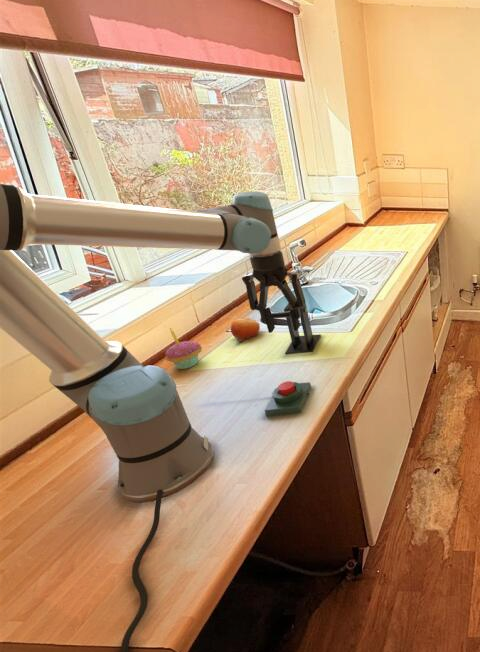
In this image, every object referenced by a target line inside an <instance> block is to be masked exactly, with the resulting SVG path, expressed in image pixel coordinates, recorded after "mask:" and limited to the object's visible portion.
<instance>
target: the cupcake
mask: <svg viewBox="0 0 480 652" xmlns="http://www.w3.org/2000/svg"><path fill="white" fill-rule="evenodd" d="M169 330H170V333H171V335H172V338H173V339H174V341H175V343H174V344H173V345H171V346H169V347H168V348H167V349H166V350H165V352H164V356H165V360H166V361H167V362H170V363H172V364H173V365H175V366H176V368H177V369H179V370H185V369H190V368H192V367H194V366H196V365H197V364H198V358H199V354H200V353H201V352H202V351H203V349H202V348H203V347H202V345H201V344H200V343H198V342H196V341H193V340H184V341H179V339H178V337H177V335H176V333H175V331H174V330H172V328H171V327H170V328H169Z"/></svg>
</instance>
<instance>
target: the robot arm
mask: <svg viewBox="0 0 480 652" xmlns="http://www.w3.org/2000/svg"><path fill="white" fill-rule="evenodd" d="M273 211H274V209H273V207H272V204H271V200H270V198H269V196H268V194H267V193H265V192H262V191H245V192H240V193H236V194H234V195H233V203H231V204H228V205H222V206H216V207H210V208H202V209H194V210H186V209H176V208H165V207H157V206H148V205H137V204H127V203H119V202H109V201H101V200H100V201H99V200H91V199H90V200H89V199H81V198H80V199H79V198H72V197H71V198H70V197H61V196H53V195H50V196H49V195H43V194H41V195H40V194H33V193H28V192H26V191H24V190H23V189H22V188H21V187H19V186H18V185H14V184H13V185H12V184H3V183H0V329H1V330H2V331H3V332H5V333H6V334H7V335H8V336H9V337H11V338H12V339H13V340H15V342H17V343H18V344H19V345H20V346H22V347H23V348H24V349H25V350H27V351H28V352H29V353H30V354H31V355H33V356H34V357H35V358H36V359H37V360H39V361H40V362H41V363H42V364H43V365H45V367H47V368H48V369H49V370H51V371H50V374H49V376H48V382H49V384H51V385H52V386H53V387H55V388H56V389H57V390H58V391H60V392H61V393H62V394H64V395H65V396H66V397H67V398H69V400H71V402H72V403H74V404H75V405H77V406H78V407H79V408H80V409H82V410H83V411H84V412H85V413H86V415H87V416H89V418H90V419H91V420H92V421H93V422H94V423H95V424H96V425H97V426H98V427H99V428H100V429H101V430H102V432H103V434H104V435H105V436H106V438H107V440H108V442H109V444H110V446H111V447H112V450H113V452H114V453H115V455H116V457H117V459H118V477H117V479H118V480H117V489H118V490H119V492H120V494H121V496H122V497H123V498H124V499H125V500H126V501H128V502H131V503H137V504H139V503H141V504H142V503H143V504H144V503H150V502H154V501H155V502H154V503H155V504H154V511H153V522H152V525H151V529H150V531H149V533H148V535H147V537H146V539H145V540H144V543H143V544H142V546H141V548H140V550H138V553H137V554H136V557H135V559H134V561H133V564H132V565H133V566H132V570H131V577H132V582H133V585H134V587H135V588H136V591H137V592H138V596H139V598H140V599H139V600H140V603H139V608H138V610H137V614H135V616H134V618H133V620H132V621H131V623H130V624H129V626H128V628H127V629H126V631H125V633H124V636H123V637H122V641H121V646H120V652H129V649H130V640H131V639H132V635H133V633H134V631H135V629H136V628H137V627H138V624H139V623H140V622H141V620H142V618H143V616H144V615H145V613H146V610H147V606H148V591H147V589H146V587H145V585H144V583H143V581H142V579H141V577H140V566H141V563H142V559H143V557H144V555H145V553H146V551H147V549H148V548H149V546H150V544H151V542H152V541H153V539H154V537H155V535H156V532H157V530H158V527H159V523H160V517H161V506H162V500H163V499H165V498H167V497H170V496H172V495H174V494H177V493H178V492H181V491H183V490H184V489H185V488H187V487H189V486H191V485H192V484H193V483H194V482H196V481H197V480H199V478H201V477H202V476H203V475H204V474H205V473H206V472H207V471H208V469H209V468H210V466H211V464H212V462H213V460H214V455H215V453H214V450H213V447H212V444H211V443H210V441H209V437H207V436H206V435H203V436H201V435H200V434H199V433H198V432H197V431H196V430H195V429H194V428H193V427H192V424H191V422H190V419H189V416H188V415H187V412H186V409H185V407H184V405H183V402H182V400H181V397H180V395H179V392H178V390H177V384H176V383H175V381H174V379H173V377H172V376H171V374H170V373H169V372H168V371H167V370H166V369H164V368H162V367H160V366H157V365H150V364H148V365H146V366H144V365H143V364H142V363H141V362H140V361H139V360H138V359H137V357H135V356H134V355H133V354H132V353H131V352H130V351H129V350H128V349H127V348H126V347H125V346H124V345H123V344H122V343H121V342H119V341H116V340H104V339H103V337H102V336H100V335H99V333H98V332H96V330H94V329H93V328H92V327H91V326H90V325H89V324H88V323H87V322H86V321H85V320H84V319H83V318H82V317H81V316H80V315H79V314H78V313H77V312H76V311H75V310H74V309H73V308H72V307H70V305H68V303H66V301H65V300H64V299H63V298H62V297H61V296H59V295H58V293H56V291H54V289H52V287H50V286H49V284H47V283H46V282H45V281H44V280H43V279H42V278H41V277H40V276H39V275H38V274H37V273H36V272H35V271H34V270H33V269H32V268H31V267H30V266H29V265H28V264H27V263H26V262H25V261H24V260H22V258H21V257H20V256H19V255H17V254H16V253H15V252H14V251H22V250H24V249H25V248H27V247H28V246H30V245H46V246H47V245H48V246H49V245H50V246H52V245H53V246H83V247H84V246H85V247H115V248H117V247H118V248H119V247H120V248H121V247H123V248H150V249H151V248H152V249H153V248H154V249H186V250H187V249H188V250H189V249H190V250H216V251H237V252H240V253H243V254H248V255H249V256H248V257H249V261H250V265H251V268H252V272H251V273H246V274H245V275H243V276H242V277H241V280H242V282H243V284H244V285H245V289H246V294H247V298H248V304H249V308H250V310H251V311H255V310H256V311H258V312H259V313H260V318H261V320H262V322H265V325H266V328H267V332H268V333H273V331H274V330H275V328H276V326H275V322H274V318H270V314H271V313H272V311H271V307H268V305H267V303H268V296H269V287H277V289H278V290H280V292H281V293H282V295H283V296H284V298H285V299H286V301H287V302H288V303H289V304H290V306H291V307H292V308H291V309H290V314H291V318H292V322H293V326H294V331H297V330H298V331H299V329H300V327H301V322H300V317H301V312H300V308H299V307H303V305H304V304H305V302H307V301H306V297H305V295H304V291H303V288H302V285H301V281H300V271H298V270H295V271H290V270H288V268H287V267H286V264H285V258H284V254H283V251H282V247H281V242H280V239H279V235H278V230H277V229H278V228H277V224H276V221H275V216H274V212H273ZM287 277H288V278H289V281H291V286H292V289H293V291H292V290H291V288H290V286H289V284H288V281H287V280H286V278H287ZM255 280H257V281H258V283H259V284H260V285H259V298H258V293H257V289H256V283H255ZM293 292H294V293H293Z"/></svg>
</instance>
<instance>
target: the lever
mask: <svg viewBox="0 0 480 652" xmlns="http://www.w3.org/2000/svg"><path fill="white" fill-rule="evenodd" d="M291 308H292V307H291ZM291 308H290V309H291ZM286 317H291V314H290V311H286V312H284V311H283V312H271V314H270V318H273V319H282V318H283V319H284V318H285V319H286Z"/></svg>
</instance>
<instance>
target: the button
mask: <svg viewBox="0 0 480 652" xmlns="http://www.w3.org/2000/svg"><path fill="white" fill-rule="evenodd" d="M293 382H294V381H291V380H290V381H284V382H281V383H280V384H278V385H279V386H277V387H278V390H279V394H280V395H288V394H291V393H292V392H294V391H295V387H294V383H293Z"/></svg>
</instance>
